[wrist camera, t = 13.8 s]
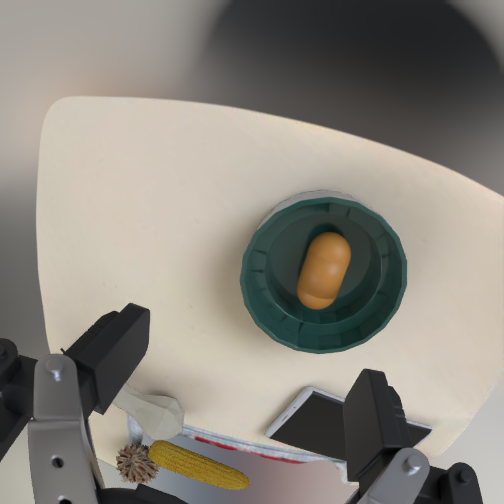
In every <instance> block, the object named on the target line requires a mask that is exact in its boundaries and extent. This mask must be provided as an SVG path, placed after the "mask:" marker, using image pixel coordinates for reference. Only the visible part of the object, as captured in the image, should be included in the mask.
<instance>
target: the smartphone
mask: <svg viewBox="0 0 504 504" xmlns="http://www.w3.org/2000/svg"><path fill="white" fill-rule="evenodd" d="M344 401H345V399H342V398H340V397H337V396H334V395H332V394H329V393H326V392H324V391H321V390H319V389H316V388H314V387H310V386H309V387H305V388H304V389H303V390H302V391H301V392H300V394H299V395H298V396H297V397H296V398H295V399H294V400H293V401H292V402H291V404H290V405H289V406H288V407H287V408H286V409H285V410H284V411H283V412H282V413H281V414H280V415H279V417H278V418H277V419H276V420H275V421H274V422H273V423H272V424H271V425H270V426H269V427H268V428H267V429H266V430H265V436H266V437H268V438H270V439H273V440H276V441H279V442H282V443H285V444H288V445H291V446H294V447H297V448H300V449H304V450H307V451H310V452H314V453H317V454H321V455H325V456H328V457H332V458H336V459H340V460H344V461H347V459H346V443H345V430H344V418H343V405H344ZM406 421H407V425H408V429H409V432H410V436H411V440H412V444H413V448H415V447H416V446H418V445H419V444H420V443H421V442H423V441H424V440H425V439H426V438H427V437H428V436H430V435H431V434H432V433H433V429H432V427H430V426H427V425H423V424H419V423H416V422H412V421H409V420H406Z"/></svg>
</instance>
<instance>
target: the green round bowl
mask: <svg viewBox="0 0 504 504" xmlns="http://www.w3.org/2000/svg"><path fill="white" fill-rule="evenodd" d="M325 232H334V233H337V234H339V235H341V236H343V237H344V238H345V239H346V240H347V242H348V244H349V246H350V249H351V259H350V262H349V265H348V268H347V270H346V273H345V276H344V278H343V281H342V284H341V286H340V289H339V291H338V294H337V296H336V298H335V300H334V301H333V303H332V304H330V305H329V306H328V307H326V308H323V309H318V310H316V309H311V308H308V307H306V306H305V305H304V304H303V303H302V302H301V301H300V300H299V297H298V295H297V283H298V280H299V277H300V274H301V270H302V267H303V264H304V261H305V258H306V255H307V252H308V249H309V246H310V244H311V242H312V241H313V239H314V238H315V237H317V236H318V235H320V234H322V233H325ZM240 285H241V290H242V294H243V299H244V304H245V306H246V308H247V309H248V311H249V313H250V314H251V316H252V318H253V320H254V321H255V323H256V325H257V326H258V327H260V328H261V329H262V330H263V331H264V332H265V333H266V334H267V335H269V336H270V337H271V338H272V339H273V340H274V341H276V342H278V343H281V344H283V345H285V346H287V347H289V348H291V349H294V350H296V351H302V352H309V353H315V354H325V353H334V352H342V351H345V350H348V349H350V348H353V347H356V346H358V345H361V344H363V343H365V342H367V341H368V340H369V339H371V338H372V337H373V336H375V335H376V334H377V333H379V332H380V331H381V330H382V329H384V328H385V327H386V325H387V324H388V323H389V321H390V320H391V319H392V317H393V316H394V314H395V313H396V312H397V310H398V308H399V306H400V304H401V301H402V298H403V295H404V292H405V289H406V285H407V259H406V256H405V253H404V250H403V247H402V245H401V242H400V239H399V237H398V235H397V234H396V233H395V231H394V230H393V229H392V228H391V227H390V225H389V224H388V223H387V222H386V220H385V219H384V218H383V217H382V216H381V215H380V214H378V213H377V212H376V211H375V210H373V209H372V208H371V207H370V206H368V205H366V204H365V203H363V202H361V201H360V200H358V199H356V198H355V197H353V196H351V195H349V194H345V193H340V192H335V191H330V190H319V191H311V192H303V193H300V194H298V195H296V196H293V197H291V198H289V199H287V200H285V201H283V202H281V203H279V204H278V205H277V206H276V207H275V208H274V209H273V210H272V211H271V212H270V213H269V214H268V215H267V216H266V217H265V218H264V219H263V220H262V222H261V223H260V225H259V227H258V228H257V230H256V232H255V233H254V235H253V237H252V239H251V241H250V243H249V245H248V247H247V249H246V251H245V253H244V255H243V260H242V268H241V275H240Z"/></svg>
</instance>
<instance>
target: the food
mask: <svg viewBox="0 0 504 504" xmlns="http://www.w3.org/2000/svg"><path fill="white" fill-rule="evenodd" d="M147 454H148V455H147V456H148V457H149V458H150V459H151V460H152V461H153V462H154V463H156V464H157V465H159V466H161V467H163V468H166V469H169V470H171V471H174V472H177V473H179V474H182V475H185V476H187V477H189V478H192V479H195V480H198V481H202V482H205V483H208V484H212V485H215V486H217V487H221V488H227V489H235V490H236V489H243V488H244V489H245V488H247V487H248V486H249V479H248V477H246V476H245V475H244V474H243V473H241V472H240V471H238V470H236V469H233V468H230V467H229V466H226V465H224V464H221V463H218V462H216V461H214V460H212V459H210V458H207V457H204V456H202V455H199V454H196V453H194V452H191V451H189V450H187V449H183V448H181V447H178V446H176V445H174V444H172V443H169V442H167V441H164V440H155V442H154V443H153V444H152V446H150V449H149V451H148V453H147Z"/></svg>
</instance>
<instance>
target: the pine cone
mask: <svg viewBox="0 0 504 504" xmlns="http://www.w3.org/2000/svg"><path fill="white" fill-rule="evenodd" d="M124 448H125V449H124V450H123V449H120V450H121V451H120V452H119V451H118V453H119V454H120V456H117V457H116V458H117V459H116V460H117V461H118V463H117V466H118V468H116V469H117V470H120V471H121V472H120V475H123V476H122V478H123V480H122V482H128V480H129V481H130V482H132V483H133V482H136V483H137V484H139V483H141V484H142V483H144V482H146V483H148V482H149V481H151V478H152V479H154V478H155V476H156V474H158V473H157V472H158V470H159V468H157V467H159V465H157V464H156V463H154V462H153V461H152V460H151V459H150V458H149V457H148V456H147V455H148V454H147V453H148V451H149V449H148V448H149V447H148V446H146V445H145V446H144V445H142V446H141V445H138V443H137V444H134V443H132V446H131V447H130V446H129V445H128V444H127V446H126V445H125V447H124Z"/></svg>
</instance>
